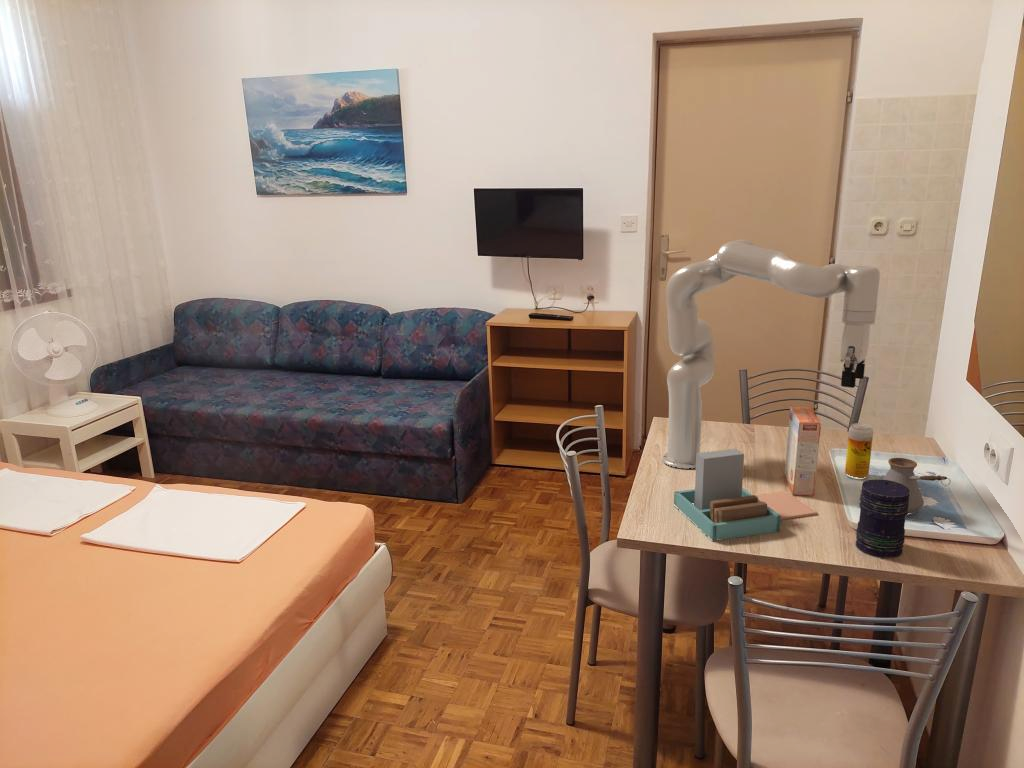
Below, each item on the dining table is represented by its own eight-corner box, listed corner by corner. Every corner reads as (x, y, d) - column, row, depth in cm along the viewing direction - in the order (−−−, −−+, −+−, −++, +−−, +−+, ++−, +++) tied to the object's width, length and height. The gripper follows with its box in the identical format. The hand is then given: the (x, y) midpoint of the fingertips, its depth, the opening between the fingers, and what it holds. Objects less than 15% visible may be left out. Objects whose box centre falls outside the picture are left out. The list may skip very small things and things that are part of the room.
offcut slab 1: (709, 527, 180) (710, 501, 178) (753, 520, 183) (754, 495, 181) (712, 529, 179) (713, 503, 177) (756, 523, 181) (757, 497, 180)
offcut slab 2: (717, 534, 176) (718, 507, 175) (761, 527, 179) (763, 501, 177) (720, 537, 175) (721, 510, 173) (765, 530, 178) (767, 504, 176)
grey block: (694, 511, 189) (696, 453, 184) (732, 506, 191) (735, 448, 187) (701, 518, 185) (704, 458, 181) (740, 512, 187) (744, 453, 183)
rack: (673, 505, 192) (674, 491, 191) (735, 497, 196) (736, 483, 195) (712, 541, 173) (712, 525, 172) (779, 531, 177) (781, 515, 176)
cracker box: (815, 496, 195) (822, 422, 189) (791, 495, 196) (797, 421, 191) (806, 476, 208) (812, 406, 203) (784, 475, 209) (789, 405, 204)
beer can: (857, 482, 203) (862, 431, 199) (839, 474, 209) (844, 424, 205) (873, 478, 206) (878, 427, 202) (855, 470, 211) (860, 421, 207)
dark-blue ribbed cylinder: (901, 562, 161) (909, 500, 157) (853, 552, 166) (859, 492, 162) (903, 543, 169) (911, 483, 165) (857, 534, 174) (863, 476, 170)
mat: (741, 498, 195) (741, 496, 195) (784, 492, 198) (784, 490, 198) (771, 521, 182) (771, 519, 182) (817, 514, 185) (817, 512, 185)
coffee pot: (862, 501, 191) (868, 447, 187) (903, 498, 193) (909, 444, 189) (916, 539, 171) (924, 480, 167) (961, 535, 172) (970, 476, 168)
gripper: (850, 310, 192) (844, 373, 196) (834, 321, 178) (828, 388, 183) (882, 312, 187) (875, 376, 192) (867, 323, 174) (860, 392, 179)
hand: (852, 382), depth 188 cm, fingers open, 9 cm apart
